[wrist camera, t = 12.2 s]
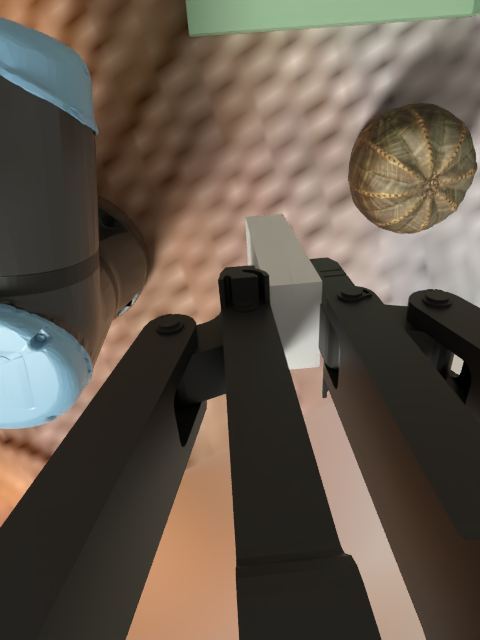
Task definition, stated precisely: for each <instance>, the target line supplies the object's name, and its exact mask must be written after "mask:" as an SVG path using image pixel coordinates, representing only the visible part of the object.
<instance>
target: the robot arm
mask: <svg viewBox="0 0 480 640" xmlns="http://www.w3.org/2000/svg"><path fill="white" fill-rule="evenodd" d="M95 136H98V126H97V125H96V123H95V121H94V109H93V96H92V83H91V77H90V74H89V71H88V68H87V66H86V65H85V63H84V62H83V60H82V59H81V58H80V56H79V55H78V54H77V53H76V52H75V51H73V50H72V49H71V48H70V47H68V46H67V45H65V44H64V43H62V42H60V41H59V40H57V39H55V38H53V37H50V36H48V35H46V34H44V33H41V32H39V31H37V30H34V29H32V28H29V27H27V26H24V25H22V24H19V23H16V22H13V21H11V20H8V19H5V18H2V17H0V428H4V429H18V428H27V427H34V426H38V425H42V424H45V423H48V422H50V421H52V420H54V419H56V418H57V417H58V416H60V415H61V414H63V413H66V412H67V411H68V410H69V409H70V408H71V407H72V406H73V405H74V404H75V403H76V401H77V400H78V398H79V396H80V394H81V393H82V391H83V389H84V388H85V386H87V385H88V383H89V381H90V380H91V376H92V372H93V367H94V365H95V362H96V360H97V357H98V355H99V352H100V350H101V347H102V345H103V342H104V340H105V337H106V335H107V332H108V330H109V328H110V325H111V323H112V321H113V320H114V319H116V318H117V317H119V316H120V315H122V314H123V313H125V312H126V311H127V310H128V309H129V308H130V307H131V306H132V305H133V304H134V303H135V302H136V300H137V299H138V297H139V295H140V294H141V291H142V289H143V286H144V283H145V280H146V277H147V272H148V256H147V250H146V247H145V243H144V241H143V238H142V236H141V234H140V232H139V231H138V229H137V228H136V226H135V225H134V223H133V222H132V221H131V220H130V219H129V217H128V216H127V215H126V214H125V213H123V212H122V211H121V210H120V209H119V208H117V207H116V206H115V205H113V204H111V203H110V202H108V201H106V200H104V199H102V198H100V197H98V194H97V169H96V143H95ZM245 221H246V237H247V254H248V266H238V267H227V268H225V269H224V270H223V271H222V272H221V273H220V277H219V279H218V284H219V293H220V303H221V312H220V314H219V315H218V316H217V317H216V318H214V319H212V320H211V321H209V322H206V323H203V324H199V325H196V322H195V321H194V319H193V318H191V317H189V316H187V315H181V314H167V315H165V316H164V315H163V316H159V317H158V318H156V319H154V320H152V321H150V322H149V323H148V324H147V325H146V326H145V327H144V328H143V330H142V331H141V332H140V334H139V335H138V337H137V338H136V339H135V341H134V342H133V343H132V345H131V346H130V348H129V349H128V350H127V352H126V353H125V355H124V356H123V357H122V359H121V360H120V362H119V363H118V364H117V366H116V367H115V369H114V370H113V371H112V373H111V374H110V376H109V377H108V378H107V380H106V381H105V383H104V384H103V385H102V387H101V388H100V389H99V391H98V392H97V394H96V395H95V396H94V398H93V399H92V401H91V402H90V403H89V405H88V406H87V408H86V409H85V410H84V412H83V413H82V415H81V416H80V417H79V419H78V420H77V422H76V423H75V424H74V426H73V427H72V429H71V430H70V431H69V433H68V434H67V435H66V437H65V438H64V440H63V441H62V442H61V444H60V445H59V447H58V448H57V449H56V451H55V452H54V454H53V455H52V456H51V458H50V459H49V461H48V462H47V463H46V465H45V466H44V468H43V469H42V470H41V472H40V473H39V475H38V476H37V477H36V479H35V480H34V481H33V483H32V484H31V486H30V487H29V488H28V490H27V491H26V493H25V494H24V495H23V497H22V498H21V500H20V501H19V502H18V504H17V505H16V507H15V508H14V509H13V511H12V512H11V514H10V515H9V516H8V518H7V519H6V521H5V522H4V523H3V525H2V526H1V527H0V640H126V637H127V634H128V631H129V628H130V625H131V623H132V620H133V617H134V614H135V611H136V608H137V605H138V603H139V600H140V597H141V594H142V591H143V588H144V586H145V582H146V580H147V577H148V574H149V571H150V568H151V566H152V563H153V559H154V557H155V554H156V551H157V548H158V546H159V542H160V540H161V537H162V534H163V531H164V528H165V525H166V523H167V520H168V517H169V514H170V511H171V508H172V506H173V503H174V500H175V497H176V494H177V491H178V488H179V486H180V483H181V480H182V477H183V474H184V471H185V468H186V466H187V463H188V460H189V457H190V454H191V451H192V448H193V446H194V443H195V440H196V437H197V434H198V431H199V429H200V426H201V423H202V420H203V417H204V414H205V411H206V409H207V400H208V399H211V398H214V397H217V396H220V395H223V394H226V398H227V414H228V430H229V447H230V463H231V479H232V495H233V512H234V528H235V543H236V589H237V608H238V626H239V640H381V637H380V633H379V630H378V627H377V624H376V621H375V618H374V615H373V612H372V608H371V605H370V602H369V599H368V595H367V592H366V589H365V586H364V583H363V580H362V578H361V575H360V572H359V570H358V567H357V564H356V563H355V561H354V559H353V558H352V556H351V555H348V554H345V553H344V551H343V549H342V547H341V545H340V542H339V538H338V535H337V532H336V528H335V525H334V521H333V518H332V514H331V511H330V508H329V504H328V501H327V497H326V494H325V490H324V487H323V483H322V480H321V477H320V473H319V470H318V466H317V463H316V459H315V456H314V453H313V449H312V446H311V442H310V439H309V435H308V432H307V428H306V425H305V422H304V418H303V415H302V411H301V408H300V404H299V401H298V398H297V394H296V391H295V387H294V384H293V380H292V377H291V374H290V370H289V369H300V368H311V367H319V361H320V352H321V355H322V357H323V359H324V367H323V390H322V394H323V398H327V391H328V390H329V392H330V394H331V397H332V399H333V402H334V404H335V407H336V409H337V412H338V415H339V417H340V420H341V422H342V425H343V427H344V430H345V432H346V435H347V437H348V440H349V442H350V445H351V448H352V450H353V453H354V455H355V458H356V460H357V463H358V465H359V468H360V470H361V473H362V476H363V478H364V480H365V483H366V486H367V488H368V491H369V493H370V496H371V498H372V501H373V504H374V506H375V509H376V511H377V514H378V516H379V519H380V521H381V524H382V526H383V529H384V531H385V533H386V537H387V539H388V542H389V544H390V547H391V549H392V552H393V554H394V557H395V559H396V562H397V564H398V567H399V570H400V572H401V574H402V577H403V580H404V582H405V585H406V587H407V590H408V592H409V595H410V597H411V600H412V603H413V605H414V608H415V610H416V613H417V615H418V618H419V620H420V623H421V626H422V628H423V631H424V634H425V637H426V640H480V308H479V307H477V306H475V305H473V304H471V303H470V302H468V301H466V300H464V299H462V298H461V297H459V296H456V295H454V294H452V293H449V292H444V291H442V290H437V289H435V290H433V289H427V290H422V291H417V292H415V293H412V294H411V295H410V297H409V300H408V306H394V305H385V304H383V302H382V301H381V300H380V299H379V297H378V296H377V295H376V294H375V293H374V292H372V291H371V290H369V289H367V288H364V287H358V286H355V285H354V284H353V283H352V281H351V280H350V278H349V277H348V276H346V273H345V272H344V270H342V268H341V266H340V265H339V264H338V262H336V261H334V260H332V259H330V258H317V259H309V258H308V256H307V254H306V253H305V251H304V249H303V248H302V246H301V244H300V243H299V241H298V239H297V237H296V236H295V234H294V232H293V231H292V229H291V227H290V226H289V224H288V222H287V220H286V219H285V217H284V215H283V214H276V215H264V216H252V217H245ZM454 354H455V355H457V356H458V357H460V358H461V359H463V360H464V362H463V367H462V370H461V373H460V375H458V374H456V373H455V372H453V371H452V370H451V365H452V361H453V357H454Z"/></svg>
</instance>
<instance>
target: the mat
mask: <svg viewBox="0 0 480 640" xmlns="http://www.w3.org/2000/svg"><path fill="white" fill-rule="evenodd" d="M186 10H187V19H188V29H189V35H190V37H200V36H213V35H227V34H241V33H255V32H268V31H282V30H296V29H310V28H324V27H337V26H351V25H365V24H379V23H392V22H406V21H420V20H434V19H448V18H461V17H472V16H475V15H479V14H480V0H186Z"/></svg>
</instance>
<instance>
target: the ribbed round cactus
mask: <svg viewBox="0 0 480 640" xmlns="http://www.w3.org/2000/svg"><path fill="white" fill-rule="evenodd" d="M476 171H477V163H476V153H475V149H474V146H473V142H472V138H471V135H470V132H469V130H468V129H467V128H466V126H465V124H464V123H463V121H461V120H459V119H458V118H457V117H455V116H454V115H453V114H452V113H450V112H449V111H447V110H445V109H443V108H440V107H438V106H436V105H434V104H411V105H406V106H403V107H400V108H396V109H392V110H390V111H387V112H385V113H383V114H380V115H378V116H376V117H375V118H374V120H373V121H372V122H371V123H370V124H369V126H368V127H366V128H365V129H362V130H361V133H360V135H359V136H358V139H357V141H356V143H355V144H354V147H353V149H352V153H351V158H350V163H349V175H348V181H349V185H350V191H351V194H352V199H353V202H354V204H355V205H356V207H357V208H358V209H359V211H360V212H361V213H362V214H363V215H364V216H365V217H366V218H367V219H368V220H369V221H371V222H372V223H374V224H375V225H377V226H378V227H380V228H383V229H386V230H389V231H392V232H396V233H400V234H404V233H408V234H410V233H416V232H420V231H422V230H426V229H429V228H430V227H432V226H433V225H435V224H437V223H439V222H441V221H443V220H444V219H446V218H447V217H448V216H449V215H450V214H452V213H453V212H455V211H456V210H457V208H458V206H459V204H460V203H461V202H462V200H463V199H464V197H465V194H466V191H467V190H468V188H469V187H470V186H471V184H472V181H473V178H474V174H475V173H476Z"/></svg>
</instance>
